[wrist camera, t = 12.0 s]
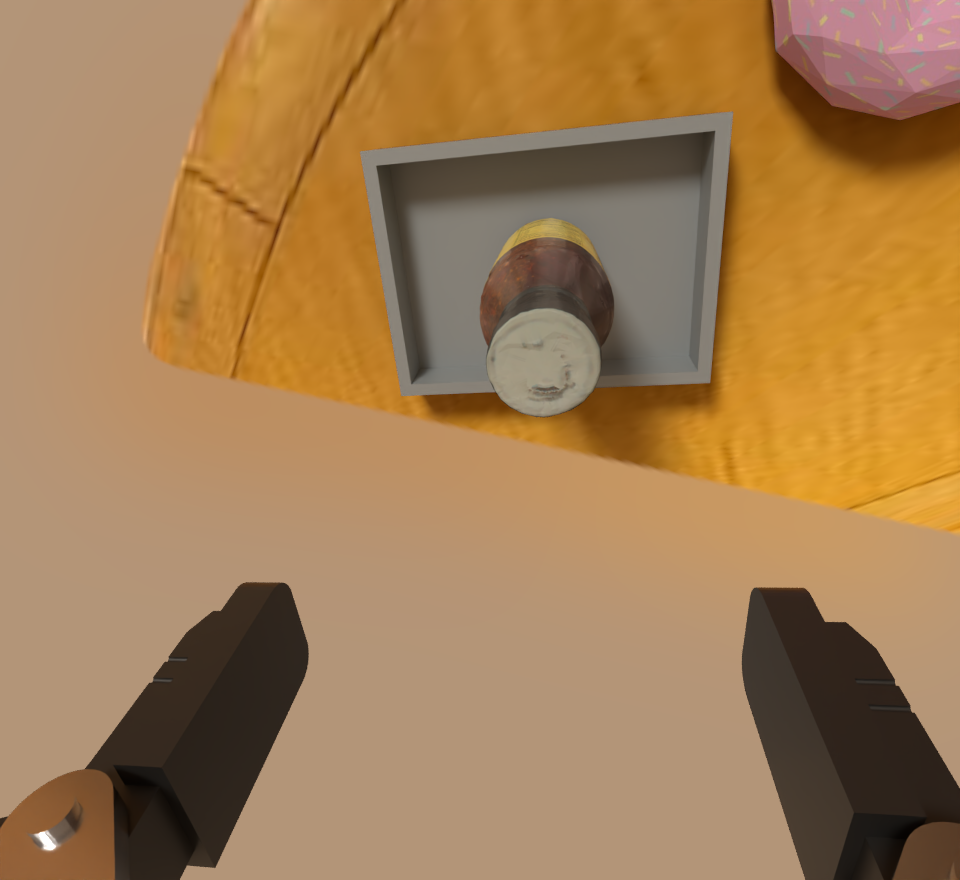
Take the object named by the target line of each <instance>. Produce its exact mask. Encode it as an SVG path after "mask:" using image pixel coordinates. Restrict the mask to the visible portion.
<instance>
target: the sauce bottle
mask: <svg viewBox="0 0 960 880" xmlns="http://www.w3.org/2000/svg"><path fill="white" fill-rule="evenodd" d="M613 318H614V297H613V292H612V288H611V285H610V282H609V280H608V277H607V275H606V273H605V270H604V268H603V266H602V264H601V261H600V259H599V257H598V254H597V252H596V250H595V248H594V246H593V244H592V242H591V240H590V239H589V238H588V236H587V235H586V234H585V233H584V232H583V231H582V230H580V229H579V228H577V227H576V226H574V225H573V224H571V223H569V222H566V221H563V220H559V219H554V218H548V219H540V220H536V221H533V222H531V223H527V224H526V225H524V226H523V227H521V228H520V229H518V230H517V231H516V232H515V233H514V234H513V235H512V236H511V237H510V238H509V239H508V240H507V242H506V243H505V245H504V246H503V248H502V250H501V252H500V254H499V256H498V258H497V260H496V261H495V263H494V265H493V267H492V269H491V271H490V273H489V277H488V279H487V281H486V283H485V286H484V289H483V293H482V295H481V304H480V325H481V329H482V332H483V336H484V339H485V341H486V344H487V345H488V349H487V355H486V369H487V375H488V378H489V381H490V383H491V385H492V387H493V389H494V391H495V392H496V393H497V394H498V396H499V397H500V399H501V400H502V401H503V402H504V403H506V404H507V405H508V406H509V407H510V408H512V409H515V410H517V411H519V412H520V413H522V414H527V415H531V416H535V417H550V416H553V415H558V414H561V413H564V412H567V411H570V410H572V409H574V408H575V407H577V406H578V405H580V404H581V403H582V402H583V401H584V400H585V399H586V398H587V397H588V396H589V395H590V394H591V393H592V392H593V391H594V389H595V387H596V385H597V383H598V380H599V377H600V372H601V366H602V350H601V347H602V345H603V344H604V343H605V341H606V339H607V337H608V335H609V333H610V330H611V328H612V324H613Z"/></svg>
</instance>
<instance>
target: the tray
mask: <svg viewBox="0 0 960 880" xmlns="http://www.w3.org/2000/svg"><path fill="white" fill-rule="evenodd" d="M732 118H733V112H721V113H711V114H702V115H692V116H683V117H674V118H664V119H655V120H646V121H636V122H627V123H618V124H608V125H599V126H590V127H580V128H571V129H562V130H552V131H543V132H534V133H524V134H515V135H506V136H496V137H487V138H478V139H469V140H459V141H450V142H441V143H431V144H422V145H413V146H403V147H394V148H385V149H376V150H368V151H361V152H360V154H361V160H362V166H363V172H364V178H365V184H366V189H367V195H368V201H369V207H370V213H371V219H372V225H373V231H374V237H375V243H376V248H377V254H378V260H379V266H380V272H381V278H382V284H383V290H384V296H385V302H386V307H387V313H388V319H389V325H390V331H391V337H392V343H393V349H394V355H395V361H396V366H397V372H398V378H399V384H400V390H401V396H413V395H437V394H460V393H484V392H495V391H494V389H493V387H492V385H491V383H490V381H489V378H488V375H487V369H486V355H487V349H488V345H487V344H486V341H485V339H484V336H483V332H482V329H481V325H480V304H481V295H482V293H483V289H484V286H485V283H486V281H487V279H488V277H489V273H490V271H491V269H492V267H493V265H494V263H495V261H496V260H497V258H498V256H499V254H500V252H501V250H502V248H503V246H504V245H505V243H506V242H507V240H508V239H509V238H510V237H511V236H512V235H513V234H514V233H515V232H516V231H517V230H518V229H520V228H521V227H523V226H524V225H526V224H527V223H531V222H533V221H536V220H540V219H548V218H554V219H559V220H563V221H566V222H569V223H571V224H573V225H574V226H576V227H577V228H579V229H580V230H582V231H583V232H584V233H585V234H586V235H587V236H588V238H589V239H590V240H591V242H592V244H593V246H594V248H595V250H596V252H597V254H598V257H599V259H600V261H601V264H602V266H603V268H604V270H605V273H606V275H607V277H608V280H609V282H610V285H611V288H612V292H613V297H614V318H613V324H612V328H611V330H610V333H609V335H608V337H607V339H606V341H605V343H604V344H603V345H602V347H601V350H602V366H601V372H600V377H599V380H598V383H597V385H596V387H595V388H603V387H627V386H650V385H674V384H698V383H710V379H711V367H712V355H713V343H714V331H715V319H716V308H717V296H718V284H719V272H720V260H721V248H722V237H723V225H724V213H725V201H726V189H727V178H728V166H729V154H730V142H731V130H732Z"/></svg>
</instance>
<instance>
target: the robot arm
mask: <svg viewBox="0 0 960 880" xmlns="http://www.w3.org/2000/svg"><path fill="white" fill-rule="evenodd" d="M308 654H309V653H308V644H307V640H306V637H305V634H304V630H303V627H302V624H301V621H300V618H299V615H298V611H297V608H296V605H295V602H294V598H293V595H292V592H291V589H290V588H289V586H288V585H287V584H285V583H257V582H253V583H252V582H250V583H249V582H246V583H243V584H241V585H240V586H239V587H238V588H237V589H236V590H235V592H234V593H233V595H232V596H231V597H230V599H229V600H228V602H227V603H226V604H225V606H224V607H223V609H222V610H221V611H213V612H211V613H210V614H209V615H208V616H206V617H205V618H204V619H203V620H201V621H200V622H199V623H198V624H197V625H195V626H194V627H193V628H191V629H190V630H189V631H188V632H187V633H186V634H185V635H184V637H183V638H182V640H181V641H180V642H179V643H178V645H177V646H176V648H175V649H174V650H173V652H172V653H171V654H170V656H169V660H168V662H164V664H163V665H162V667H161V668H160V669H159V670H158V672H157V673H156V675H155V676H154V677H153V678H154V679H153V682H152V683H149V684H148V685H147V687H146V688H145V689H144V691H143V692H142V693H141V695H140V696H139V697H138V699H137V700H136V701H135V703H134V704H133V705H132V707H131V708H130V710H129V711H128V712H127V714H126V715H125V716H124V718H123V719H122V720H121V722H120V723H119V724H118V726H117V727H116V728H115V730H114V731H113V732H112V734H111V735H110V736H109V738H108V739H107V740H106V742H105V743H104V744H103V746H102V747H101V749H100V750H99V751H98V753H97V754H96V755H95V757H94V758H93V759H92V761H91V762H90V763H89V764H88V766H87V767H86V768H85V769H83V770H77V771H73V772H70V773H67V774H64V775H62V776H59V777H57V778H55V779H53V780H51V781H49V782H48V783H46V784H45V785H43V786H41V787H40V788H38V789H37V790H36V791H34V792H33V793H32V794H30V795H29V796H28V797H27V798H26V799H25V800H23V801H22V802H21V803H20V804H19V805H18V806H17V807H16V808H15V810H13V812H12V813H11V814H10V815H9V816H8V817H4V818H0V880H180V878H181V876H182V874H183V872H184V870H185V868H186V866H187V865H190V866H200V867H212V868H215V867H216V865H217V863H218V861H219V859H220V856H221V854H222V852H223V850H224V848H225V846H226V843H227V842H228V839H229V837H230V835H231V833H232V831H233V829H234V827H235V824H236V822H237V820H238V818H239V816H240V814H241V812H242V810H243V807H244V805H245V803H246V801H247V799H248V797H249V795H250V793H251V790H252V788H253V786H254V784H255V782H256V780H257V778H258V776H259V773H260V771H261V769H262V767H263V765H264V763H265V760H266V758H267V756H268V754H269V752H270V750H271V748H272V746H273V743H274V741H275V739H276V737H277V735H278V733H279V731H280V729H281V727H282V724H283V722H284V720H285V718H286V716H287V714H288V711H289V710H290V707H291V705H292V703H293V701H294V699H295V696H296V695H297V692H298V690H299V688H300V686H301V684H302V682H303V679H304V677H305V673H306V670H307V665H308ZM742 673H743V681H744V686H745V691H746V695H747V698H748V701H749V705H750V708H751V711H752V714H753V717H754V720H755V724H756V727H757V729H758V733H759V736H760V739H761V742H762V745H763V749H764V752H765V755H766V758H767V761H768V764H769V767H770V770H771V773H772V776H773V780H774V783H775V786H776V789H777V792H778V795H779V798H780V802H781V805H782V808H783V811H784V814H785V817H786V820H787V824H788V827H789V830H790V833H791V836H792V839H793V842H794V845H795V849H796V852H797V855H798V858H799V861H800V864H801V867H802V870H803V874H804V876H805V880H960V788H959V786H958V785H957V783H956V781H955V780H954V778H953V776H952V775H951V773H950V771H949V770H948V768H947V766H946V765H945V763H944V761H943V760H942V758H941V756H940V755H939V753H938V751H937V750H936V748H935V746H934V744H933V743H932V741H931V739H930V738H929V736H928V734H927V733H926V731H925V729H924V728H923V726H922V725H921V723H920V721H919V719H918V718H917V716H916V714H915V713H912V712H911V709H910V704H909V703H908V701H907V699H906V698H905V696H904V694H903V692H902V691H901V689H900V687H899V686H896V685H895V679H894V677H893V676H892V674H891V673H890V671H889V669H888V667H887V666H886V664H885V662H884V661H883V659H882V657H881V656H880V654H879V652H878V651H877V649H876V648H875V647H874V646H873V645H872V644H870V643H869V642H868V641H867V640H866V639H865V638H864V637H862V636H861V635H860V634H859V633H858V632H856V631H855V630H854V629H853V628H852V627H851V626H850V625H849V624H847V623H846V622H825V621H824V619H823V618H822V616H821V614H820V612H819V610H818V608H817V606H816V604H815V602H814V600H813V598H812V597H811V595H810V593H809V592H808V591H807V590H806V589H805V588H754V589H753V590H752V592H751V596H750V602H749V609H748V616H747V623H746V631H745V638H744V645H743V653H742Z"/></svg>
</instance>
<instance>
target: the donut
mask: <svg viewBox="0 0 960 880" xmlns="http://www.w3.org/2000/svg"><path fill="white" fill-rule="evenodd" d="M771 2H772V8H773V14H774V30H775V49H776V52H777V53H778V54H779V55H781V56H782V57H783V58H784V59H785V60H786V61H787V62H788V63H789V64H790V65H791V66H792V67H793V68H794V69H795V70H796V71H797V72H798V73H799V74H800V75H801V76H802V77H803V78H804V79H805V80H806V81H807V82H808V83H809V84H810V85H811V86H812V87H813V88H814V89H815V90H816V91H817V92H818V93H819V94H820V95H821V96H822V97H823V98H824V99H826V100H827V101H828V102H829V103H830V104H831V105H832V106H835V107H840V108H845V109H849V110H854V111H859V112H864V113H868V114H873V115H878V116H882V117H887V118H892V119H897V120H903V119H906V118H910V117H913V116H916V115H919V114H923V113H926V112H929V111H933V110H936V109H939V108H943V107H946V106H949V105H952V104H956V103H959V102H960V0H771Z"/></svg>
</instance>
